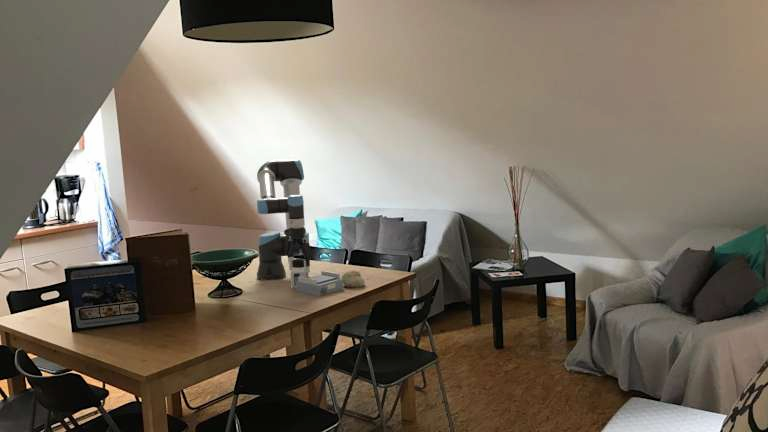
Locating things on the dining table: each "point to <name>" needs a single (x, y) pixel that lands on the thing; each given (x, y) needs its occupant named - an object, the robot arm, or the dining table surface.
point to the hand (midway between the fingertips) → (299, 271)
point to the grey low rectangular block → (320, 283)
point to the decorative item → (353, 279)
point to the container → (297, 271)
